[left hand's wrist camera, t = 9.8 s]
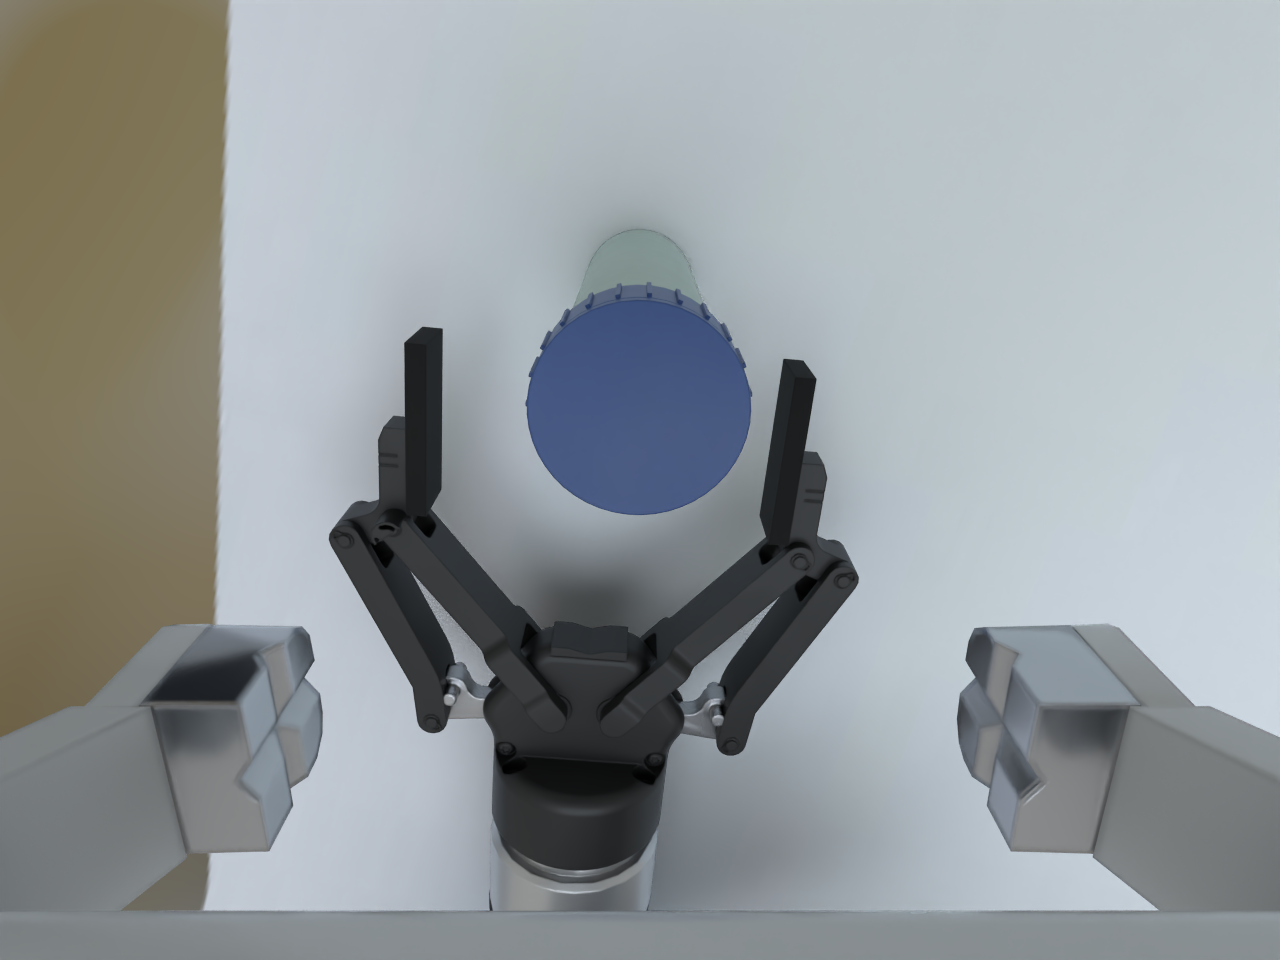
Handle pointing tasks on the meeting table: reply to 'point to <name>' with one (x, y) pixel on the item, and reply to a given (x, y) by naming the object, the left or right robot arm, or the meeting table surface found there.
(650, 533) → the meeting table surface
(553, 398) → the lid
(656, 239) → the jar
